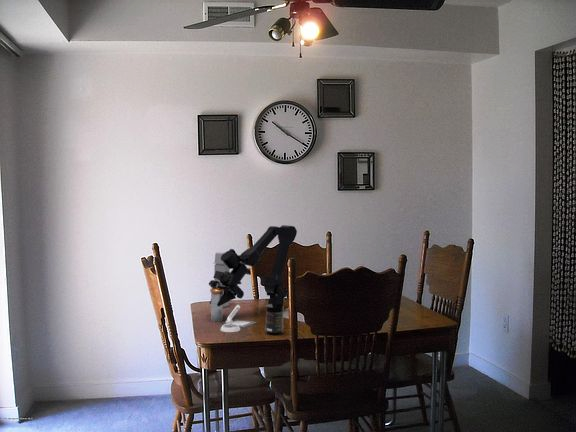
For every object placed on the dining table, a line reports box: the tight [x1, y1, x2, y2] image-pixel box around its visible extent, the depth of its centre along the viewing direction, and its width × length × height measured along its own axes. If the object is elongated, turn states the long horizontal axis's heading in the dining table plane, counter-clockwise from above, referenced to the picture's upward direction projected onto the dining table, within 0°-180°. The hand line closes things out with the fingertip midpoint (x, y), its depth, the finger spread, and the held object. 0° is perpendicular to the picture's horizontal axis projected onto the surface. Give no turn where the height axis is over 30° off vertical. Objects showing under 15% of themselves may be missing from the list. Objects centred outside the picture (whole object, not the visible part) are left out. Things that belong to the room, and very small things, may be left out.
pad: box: [222, 318, 258, 329], centre depth 215 cm, size 10×10×1 cm
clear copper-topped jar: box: [210, 288, 224, 322], centre depth 221 cm, size 6×6×13 cm
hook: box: [220, 304, 241, 333], centre depth 205 cm, size 8×12×7 cm
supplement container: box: [265, 304, 284, 336], centre depth 202 cm, size 7×7×10 cm
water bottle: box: [213, 251, 231, 308], centre depth 250 cm, size 9×8×25 cm
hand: (214, 304), depth 220 cm, fingers closed on clear copper-topped jar, 5 cm apart
